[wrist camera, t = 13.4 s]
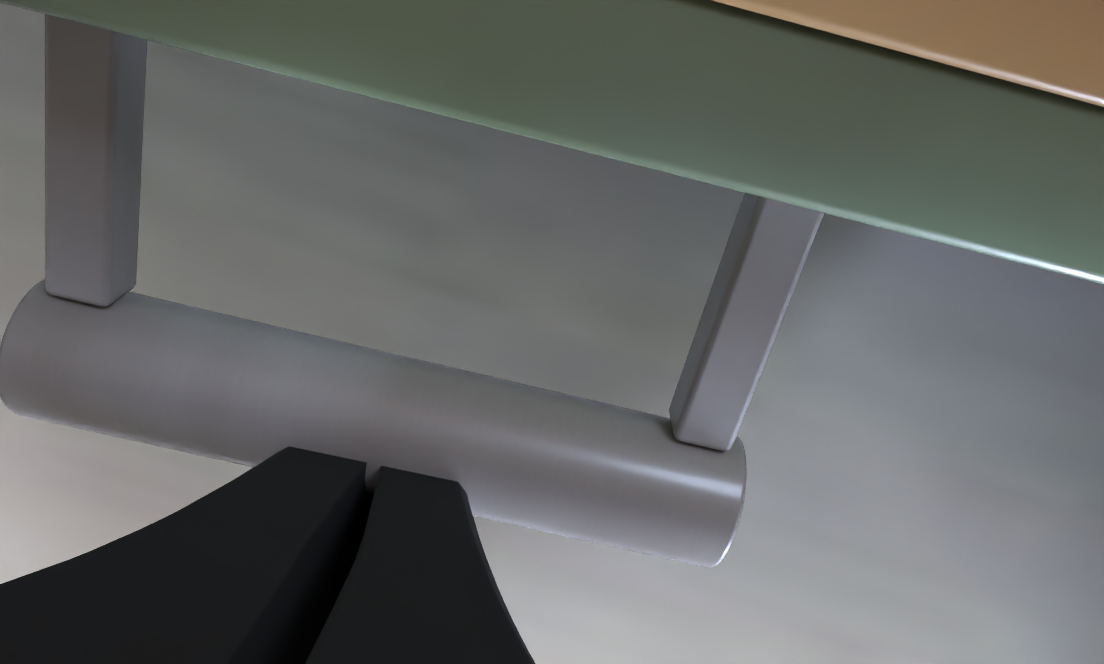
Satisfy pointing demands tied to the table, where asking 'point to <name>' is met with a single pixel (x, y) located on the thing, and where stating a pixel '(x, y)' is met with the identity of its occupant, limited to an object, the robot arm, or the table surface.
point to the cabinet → (972, 35)
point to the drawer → (559, 118)
